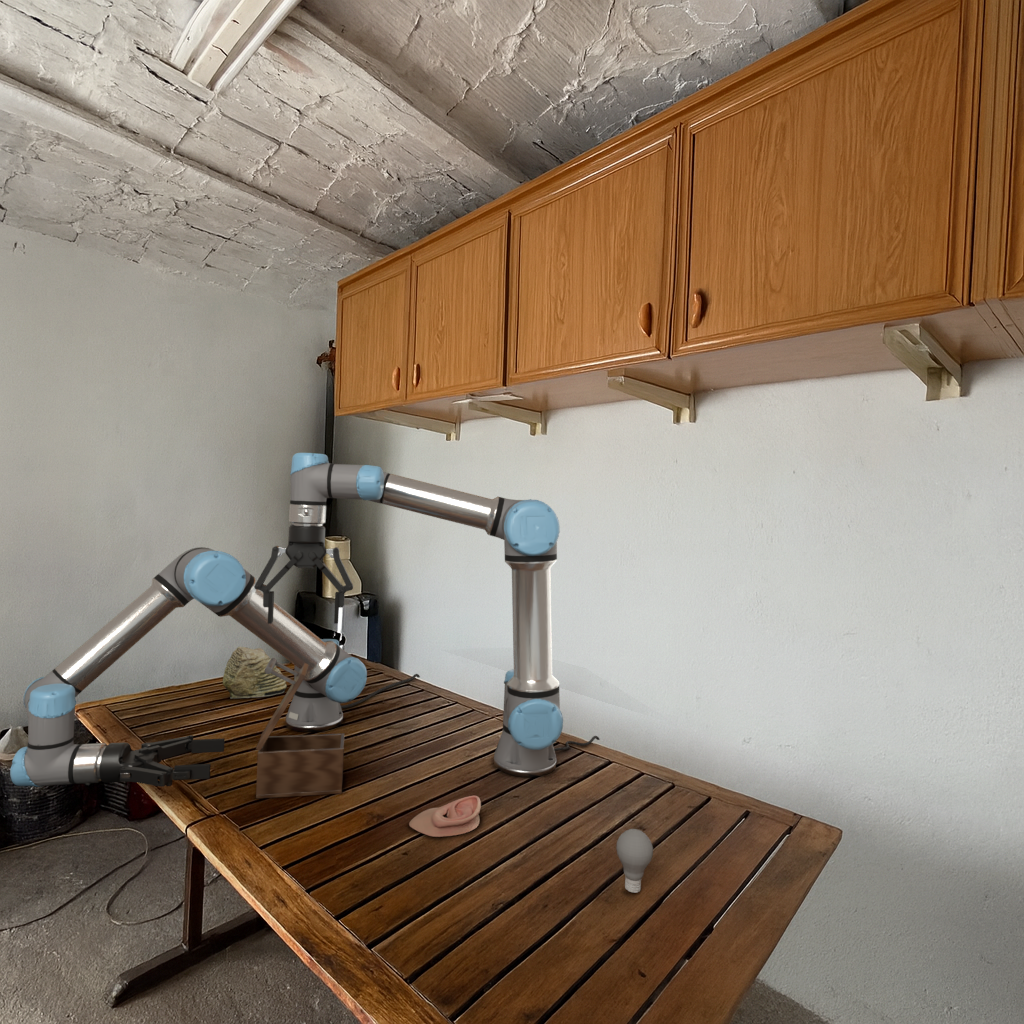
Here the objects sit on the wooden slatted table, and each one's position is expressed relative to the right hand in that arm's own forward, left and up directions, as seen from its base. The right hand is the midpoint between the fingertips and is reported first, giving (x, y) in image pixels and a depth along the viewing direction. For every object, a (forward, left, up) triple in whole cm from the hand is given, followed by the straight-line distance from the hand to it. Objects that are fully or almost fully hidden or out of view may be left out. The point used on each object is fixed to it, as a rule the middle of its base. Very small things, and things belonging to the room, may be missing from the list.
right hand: (303, 622), depth 137 cm
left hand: (+16, -2, -29) cm, 33 cm away
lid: (+3, 0, -18) cm, 18 cm away
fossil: (+12, -68, -36) cm, 78 cm away
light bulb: (-53, +52, -36) cm, 83 cm away
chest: (-1, 0, -36) cm, 36 cm away
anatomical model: (-28, +23, -36) cm, 51 cm away
